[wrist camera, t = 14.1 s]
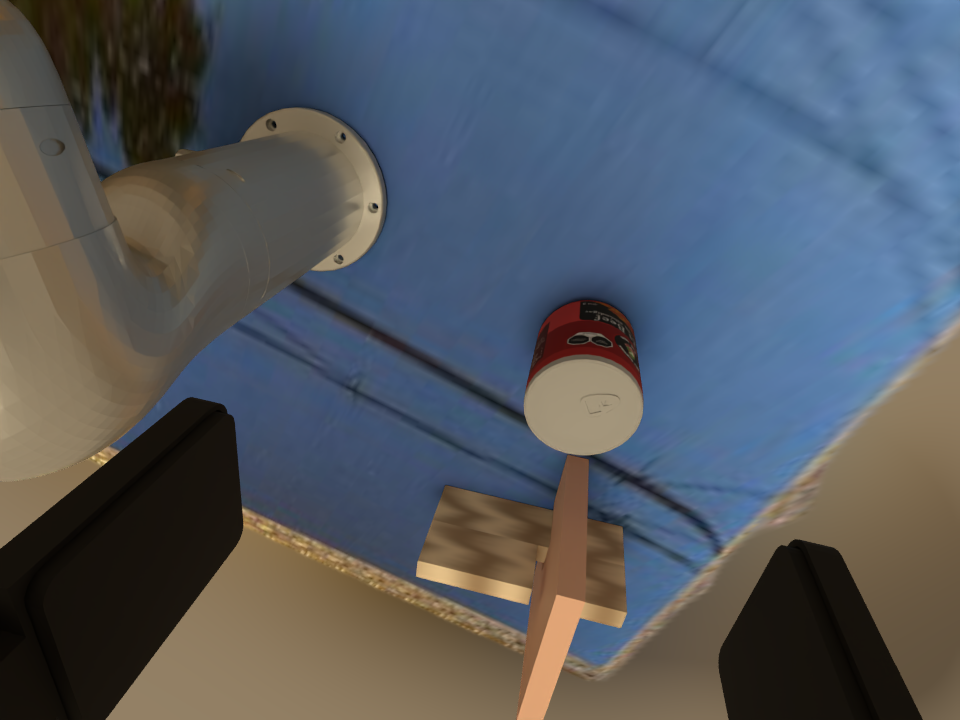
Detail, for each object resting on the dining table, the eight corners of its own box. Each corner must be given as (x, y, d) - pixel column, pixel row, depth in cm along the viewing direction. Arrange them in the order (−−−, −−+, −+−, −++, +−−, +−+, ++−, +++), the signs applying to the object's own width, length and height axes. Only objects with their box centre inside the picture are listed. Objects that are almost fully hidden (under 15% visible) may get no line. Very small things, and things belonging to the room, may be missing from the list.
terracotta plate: (534, 571, 61) (515, 722, 47) (567, 454, 53) (556, 594, 39) (553, 575, 60) (539, 729, 46) (588, 459, 53) (585, 601, 39)
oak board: (443, 499, 58) (416, 576, 50) (445, 485, 57) (418, 560, 49) (617, 541, 57) (620, 628, 48) (622, 526, 56) (626, 612, 47)
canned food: (652, 350, 47) (666, 425, 37) (571, 395, 50) (564, 473, 40) (601, 277, 45) (601, 336, 35) (520, 329, 48) (500, 395, 38)
